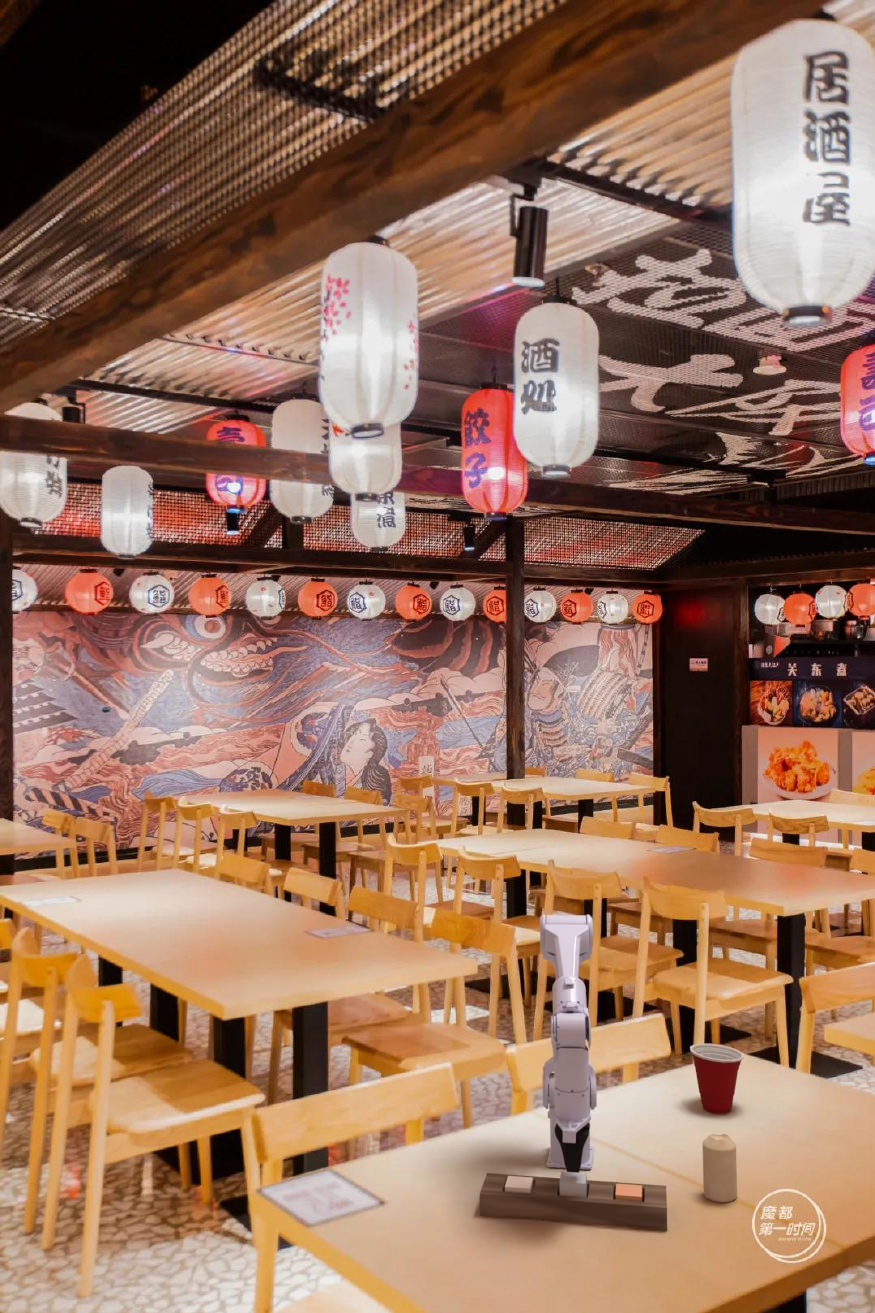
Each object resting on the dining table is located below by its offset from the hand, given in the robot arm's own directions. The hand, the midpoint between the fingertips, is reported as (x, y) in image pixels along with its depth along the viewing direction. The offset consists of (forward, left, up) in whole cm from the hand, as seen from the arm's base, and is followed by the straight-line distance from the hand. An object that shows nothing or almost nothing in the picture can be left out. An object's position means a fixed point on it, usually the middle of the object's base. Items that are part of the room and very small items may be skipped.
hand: (573, 1170), depth 179 cm
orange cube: (0, +9, -6) cm, 11 cm away
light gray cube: (0, 0, -5) cm, 5 cm away
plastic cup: (-50, +26, -7) cm, 57 cm away
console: (0, 0, -7) cm, 7 cm away
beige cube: (0, -9, -6) cm, 11 cm away
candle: (-10, +24, -7) cm, 27 cm away
